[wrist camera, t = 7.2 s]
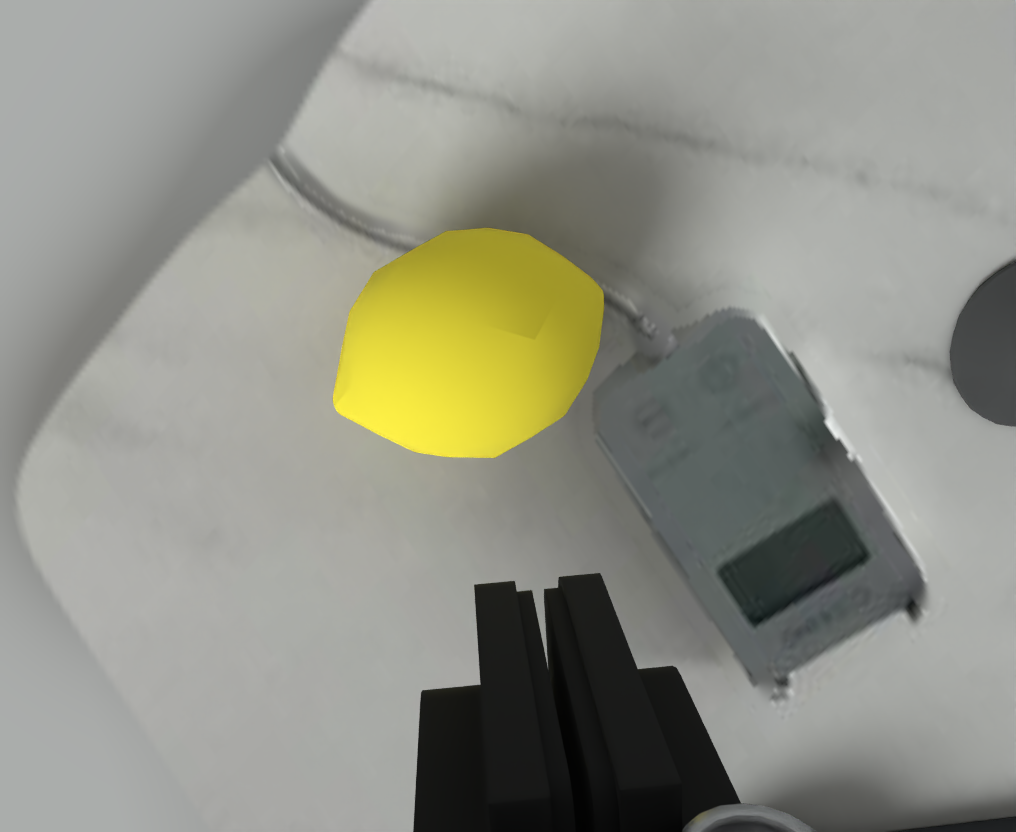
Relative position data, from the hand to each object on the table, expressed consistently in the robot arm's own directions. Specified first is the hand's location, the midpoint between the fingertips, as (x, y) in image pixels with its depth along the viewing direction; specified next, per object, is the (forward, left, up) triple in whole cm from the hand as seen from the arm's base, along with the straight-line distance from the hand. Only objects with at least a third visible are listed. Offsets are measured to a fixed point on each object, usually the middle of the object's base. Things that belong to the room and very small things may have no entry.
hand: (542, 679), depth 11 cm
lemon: (-1, +3, -13) cm, 13 cm away
